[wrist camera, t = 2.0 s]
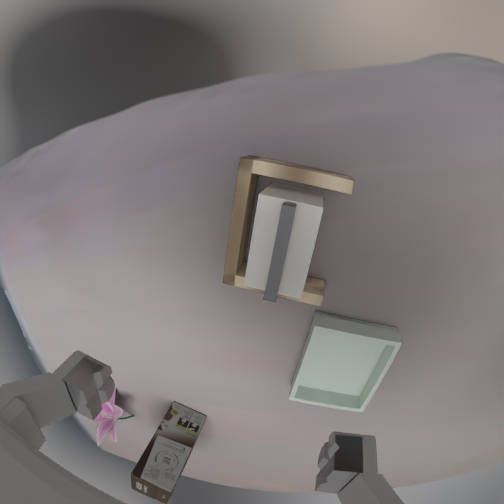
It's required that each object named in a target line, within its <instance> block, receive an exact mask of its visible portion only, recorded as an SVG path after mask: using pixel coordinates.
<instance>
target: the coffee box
mask: <svg viewBox="0 0 504 504" xmlns="http://www.w3.org/2000/svg"><path fill="white" fill-rule="evenodd" d="M205 419H206V416H205V415H203V414H200V413H198V412H196V411H194V410H192V409H189V408H187V407H185V406H183V405H181V404H179V403H177V402H173V403H172V405H171V407H170V408H169V410H168V412H167V414H166V415H165V417H164V419H163V420H162V422H161V424H160V426H159V427H158V429H157V431H156V432H155V434H154V436H153V438H152V439H151V441H150V443H149V444H148V446H147V448H146V449H145V451H144V453H143V454H142V456H141V458H140V460H139V461H138V463H137V465H136V466H135V468H134V470H133V471H132V473H131V483H132V489H134V490H136V491H138V492H140V493H142V494H145V495H146V496H149V497H151V498H153V499H157V500H159V501H161V502H163V503H165V504H167V502H168V500H169V498H170V496H171V494H172V493H173V491H174V488H175V486H176V484H177V482H178V480H179V478H180V476H181V474H182V471H183V469H184V467H185V465H186V463H187V460H188V458H189V456H190V454H191V452H192V449H193V447H194V445H195V443H196V440H197V438H198V436H199V433H200V431H201V429H202V426H203V424H204V422H205Z"/></svg>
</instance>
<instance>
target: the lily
mask: <svg viewBox="0 0 504 504" xmlns="http://www.w3.org/2000/svg"><path fill="white" fill-rule="evenodd" d="M115 393H116V388H115V389H114V392H113V395H112V397H111V399H110V400H109V401H108V402H106V403H103V404H102V411H101V412H100V413H99V414H98V416H97V417H96V418H95V420H94V421H95V422H96V423H97V424H99V426H98V428H97V445H98V446H99V445H100V443H101V441H102V439H103V438H104V436H105V435H106V434H107V432H108V434H109V436H110V437H111V438H112V440H113V441H114V442H116V443H117V439H116V431H115V422H116V421H117V420H119V419H127V418H131V417H134V416H135V415H132V416H129V417H125V418H119V417H120V416H121V415H122V413H123V410H122V409H121V408H120V407H118V406H116V405H115Z"/></svg>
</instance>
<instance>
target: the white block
mask: <svg viewBox="0 0 504 504" xmlns="http://www.w3.org/2000/svg"><path fill="white" fill-rule="evenodd" d="M323 208H324V207H323V193H321V192H317V191H312V190H308V189H303V188H299V187H294V186H289V185H284V184H280V183H275V182H272V183H271V184H270V185H269V186H267V187H266V188H265V189H264V190H263V191H262V192H260V193H259V196H258V202H257V208H256V214H255V220H254V226H253V232H252V238H251V244H250V250H249V256H248V262H247V268H246V274H245V280H244V286H247V287H251V288H256V289H260V290H264V291H265V293H264V298H263V299H264V300H268V301H272V302H276V298H277V294H280V295H285V296H289V297H293V298H298V299H301V297H302V293H303V289H304V285H305V282H306V278H307V274H308V270H309V266H310V262H311V258H312V254H313V250H314V246H315V242H316V238H317V234H318V230H319V225H320V221H321V217H322V212H323Z"/></svg>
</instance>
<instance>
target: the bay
mask: <svg viewBox="0 0 504 504" xmlns="http://www.w3.org/2000/svg"><path fill="white" fill-rule="evenodd" d="M258 174H259V175H264V176H269V177H274V178H279V179H284V180H289V181H294V182H299V183H303V184H308V185H312V186H317V187H321V188H326V189H330V190H334V191H338V192H342V193H347V194H351V193H352V189H353V185H354V180H353V179H352V178H351V177H350V176H346V175H342V174H338V173H333V172H329V171H325V170H320V169H316V168H311V167H307V166H302V165H297V164H292V163H287V162H282V161H277V160H272V159H266V158H260V157H255V156H245V157H240V162H239V168H238V175H237V182H236V188H235V195H234V202H233V209H232V216H231V223H230V231H229V238H228V245H227V253H226V260H225V268H224V276H223V283H225V284H229V285H233V286H237V287H241V288H245V289H249V290H253V291H257V292H261V293H265V291H264V290H260V289H256V288H251V287H247V286H244V280H245V274H246V268H247V262H244V260H245V253H246V247H247V241H248V235H249V229H250V222H251V216H252V210H253V204H254V198H255V192H256V186H257V179H258ZM277 296H278V297H282V298H286V299H290V300H295V301H299V302H303V303H308V304H312V305H316V306H321V304H322V301H323V297H324V280H321V279H316V278H312V277H308V276H307V278H306V282H305V285H304V289H303V293H302V297H301V299H298V298H293V297H289V296H285V295H280V294H277Z"/></svg>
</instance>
